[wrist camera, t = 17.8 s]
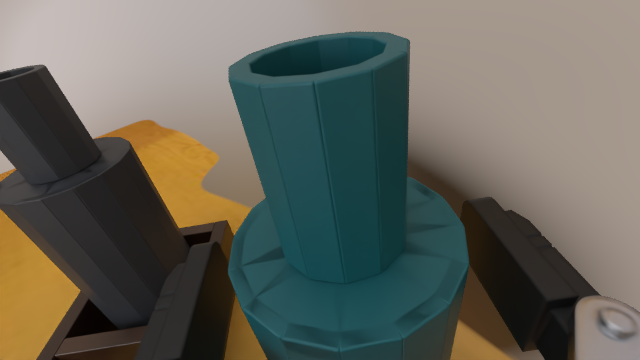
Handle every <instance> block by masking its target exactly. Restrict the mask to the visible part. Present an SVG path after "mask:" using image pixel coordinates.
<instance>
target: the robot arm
mask: <svg viewBox="0 0 640 360" xmlns="http://www.w3.org/2000/svg"><path fill="white" fill-rule="evenodd" d="M460 221H461V222H462V223H463V225H464V227H465V233H466V241H467V248H468V256H469V265H470V266H471V268H472V269H473V271H474V273H475V274H476V276H477V278H478V279H479V281H480V283H481V284H482V286H483V287H484V289H485V290H486V292H487V294H488V296H489V297H490V299H491V301H492V302H493V304H494V305H495V307H496V309H497V310H498V312H499V314H500V315H501V317H502V319H503V320H504V322H505V324H506V325H507V327H508V329H509V330H510V332H511V333H512V335H513V337H514V338H515V340H516V342H517V343H518V345H519V347H520V348H521V350H522V351H523V352H524V351H531V350H537V349H538V350H539V351H540V353H541V354H542V356H543V357H544V359H545V360H640V312H639V311H637V310H636V309H634V308H633V307H631V306H629V305H627V304H625V303H623V302H621V301H619V300H616V299H613V298H609V297H605V296H601V295H600V294H599V293H598V292H597V291H595V289H594V288H593V287H592V286H591V285H590V284H589V283H588V282H587V281H586V280H585V279H584V278H583V277H582V276H581V275H580V274H579V273H578V272H577V270H576V269H574V267H573V266H572V265H571V264H570V263H569V262H568V261H567V260H566V259H565V258H564V257H563V256H562V255H561V254H560V253H559V252H558V251H557V249H555V247H552V244H551V243H550V242H549V241H548V240H547V239H546V238H545V237H544V236H542V235H541V233H540V232H539V231H538V230H537V228H536V227H535V226H534V225H533V224H532V223H531V222H530V221H529V220H527V219H525V218H524V217H522V216H520V215H519V214H517V213H515V212H514V211H512V210H508V211H504V210H503V209H502V208H501V206H500V205H499V204H498V203H497V202H496V201H495V200H494V199H493V198H491V197H485V198H479V199H473V200H467V201H464V203H463V206H462V213H461V218H460ZM228 267H229V262H228V260H227V258H226V256H225V254H224V252H223V250H222V248H221V246H220V244H219V243H218V242H217V241H214V242H208V243H202V244H196V245H193V246H192V247H191V248H190V250H189V253H188V256H187V259H186V262H185V263H181V264H177V266H176V267H175V268H174V269H173V271H172V272H171V273H170V274H169V276H168V277H167V278H166V280H165V282H164V285H163V287H162V290H161V292H160V298H158V300H157V302H156V305H155V307H154V308H155V311H153V312H152V315H151V317H150V320H149V322H148V325H147V327H146V330H145V332H144V335H143V337H142V340H141V342H140V345H139V347H138V350H137V353H136V355H135V358H134V360H222V358H223V352H224V346H225V341H226V335H227V329H228V323H229V317H230V312H231V306H232V300H233V294H234V288H233V285H232V282H231V280H230V277H229V275H228Z"/></svg>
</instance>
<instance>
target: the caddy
mask: <svg viewBox="0 0 640 360" xmlns="http://www.w3.org/2000/svg"><path fill="white" fill-rule="evenodd" d="M179 230H180V231H181V233H182V235H183V237H184V238H185V240H186V242H187V244H188V245H189V247H190V248H191V247H192V246H193V245H196V244H202V243H208V242H214V241H217V242H218V243H219V244H220V246H221V248H222V250H223V252H224V254H225V256H226V258H227V260H228V262H229V261H230V255H231V248H232V242H233V238H234V235H233V233H232V230H231V228H230V226H229V223H228V221H227V220H225V221H219V222H215V223H209V224H203V225H197V226H190V227H184V228H179ZM234 296H235V290H234V294H233V300H232V306H231V312H230V317H229V323H228V329H227V335H226V341H225V346H224V352H223V358H222V360H224V354H225V348H226V343H227V337H228V331H229V325H230V319H231V313H232V307H233V302H234ZM146 327H147V326H141V327H134V328H128V329H122V330H119V329H118V328H117V327H116V326H115V325H114V324H113V323H112V322H111V321H110V320H109V319H108V318H107V317H106V316H105V315H104V314H103V313H102V312H101V310H100V309H99V308H98V307H97V306H96V305H95V304H94V303H93V302H92V301H91V300H90V299H89V298H88V297H87V296H86V295H85V294H84V293H83V292H82V291H81V292H80V293H79V295H78V296H77V298H76V299H75V301H74V302H73V304H72V305H71V307H70V308H69V310H68V312H67V313H66V315H65V316H64V318H63V319H62V321H61V322H60V324H59V325H58V327H57V328H56V330H55V332H54V333H53V335H52V336H51V338H50V339H49V341H48V342H47V344H46V345H45V347H44V348H43V350H42V352H41V353H40V355H39V356H38V358H37V359H36V360H134V358H135V355H136V353H137V350H138V347H139V345H140V342H141V340H142V337H143V335H144V332H145V330H146Z"/></svg>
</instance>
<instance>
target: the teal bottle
mask: <svg viewBox="0 0 640 360" xmlns="http://www.w3.org/2000/svg"><path fill="white" fill-rule="evenodd" d="M409 64H410V41H409V40H408V39H406V38H403V37H400V36H397V35H394V34H391V33H386V32H346V33H337V34H328V35H319V36H313V37H308V38H304V39H299V40H294V41H289V42H285V43H282V44H277V45H274V46H271V47H269V48H265V49H263V50H260V51H257V52H254V53H251V54H249V55H247V56H246V57H244V58H242V59H241V60H239V61H238V62H236V63H234V64H233V65H231V66H230V67H229V83H230V86H231V89H232V92H233V96H234V99H235V102H236V105H237V108H238V111H239V114H240V118H241V121H242V124H243V127H244V130H245V133H246V136H247V140H248V143H249V146H250V149H251V152H252V155H253V159H254V161H255V165H256V168H257V171H258V174H259V177H260V181H261V184H262V187H263V190H264V193H265V196H266V198H265V199H264V200H263V201H261V202H260V203H259V204H258V205H256V206H255V207H254V208H253V209H252V210H251V211H250V213H249V214H248V216H247V217H246V219H245V220H244V222H243V223H242V225H241V226H240V228H239V229H238V231H237V232H236V234H235V235H234V238H233V242H232V248H231V255H230V261H229V267H228V275H229V277H230V280H231V282H232V285H233V288H234V290H235V293H236V295H237V298H238V301H239V303H240V306H241V308H242V310H243V312H244V314H245V316H246V318H247V320H248V322H249V324H250V326H251V328H252V330H253V332H254V334H255V336H256V338H257V340H258V341H259V343H260V345H261V347H262V349H263V351H264V353H265V355H266V357H267V359H268V360H450V356H451V352H452V347H453V342H454V337H455V332H456V327H457V322H458V317H459V313H460V307H461V303H462V298H463V293H464V288H465V283H466V278H467V273H468V269H469V256H468V248H467V241H466V233H465V227H464V225H463V223H462V222H461V221H460V219H459V218H458V217H457V215H456V214H455V213H454V211H453V210H452V209H451V207H450V206H449V204H448V203H447V202H446V201H445V199H444V198H443V197H442V196H441V195H439V194H437V193H436V192H434V191H433V190H431V189H429V188H427V187H426V186H424V185H423V184H421V183H419V182H418V181H416V180H415V179H412V178H410V177H407V158H408V157H407V155H408V110H409Z"/></svg>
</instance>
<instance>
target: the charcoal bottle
mask: <svg viewBox="0 0 640 360" xmlns="http://www.w3.org/2000/svg"><path fill="white" fill-rule="evenodd" d="M0 150H1V151H2V153H3V154H4V155H5V156H6V157H7V158H8V160H9V161H10V162H11V163H12V164H13V165H14V167H15V168H16V169H17V170H16V171H14V172H13V173H12V174H10V175H9V176H8V177H6V178H5V179H4V180H2V181H1V182H0V209H1V210H2V211H3V212H4V213H5V214H6V215H7V216H8V217H9V218H10V219H11V220H12V221H13V222H14V223H15V224H16V225H17V226H18V227H19V228H20V229H21V230H22V231H23V232H24V233H25V234H26V235H27V236H28V237H29V238H30V239H31V240H32V241H33V242H34V243H35V244H36V245H37V246H38V247H39V248H40V249H41V250H42V251H43V252H44V253H45V254H46V255H47V256H48V258H49V259H50V260H51V261H52V262H53V263H54V264H55V265H56V266H57V267H58V268H59V269H60V270H61V271H62V272H63V273H64V274H65V275H66V276H67V277H68V278H69V279H70V280H71V281H72V282H73V283H74V284H75V285H76V286H77V287H78V288H79V289H80V290H81V291H82V292H83V293H84V294H85V295H86V296H87V297H88V298H89V299H90V300H91V301H92V302H93V303H94V304H95V305H96V306H97V307H98V308H99V309H100V310H101V312H102V313H103V314H104V315H105V316H106V317H107V318H108V319H109V320H110V321H111V322H112V323H113V324H114V325H115V326H116V327H117V328H118V329H119V330H122V329H128V328H134V327H141V326H147V325H148V322H149V320H150V317H151V315H152V312H153V311H155V308H154V307H155V305H156V302H157V300H158V298H160V292H161V290H162V287H163V285H164V282H165V280H166V278H167V277H168V276H169V274H170V273H171V272H172V271H173V269H174V268H175V267H176V266H177V264H181V263H185V262H186V259H187V256H188V253H189V250H190V247H189V245H188V244H187V242H186V240H185V238H184V237H183V235H182V233H181V231H180V230H179V228H178V226H177V224H176V223H175V221H174V219H173V217H172V216H171V214H170V212H169V210H168V209H167V207H166V205H165V203H164V202H163V200H162V198H161V196H160V194H159V193H158V191H157V189H156V187H155V186H154V184H153V182H152V180H151V179H150V177H149V175H148V173H147V172H146V170H145V168H144V166H143V165H142V163H141V161H140V159H139V158H138V156H137V154H136V152H135V151H134V149H133V147H132V145H131V144H130V142H129V141H128V140H125V139H123V138H121V137H105V138H98V139H92V137H91V136H90V134H89V133H88V131H87V130H86V128H85V127H84V125H83V124H82V122H81V120H80V119H79V117H78V116H77V114H76V113H75V111H74V109H73V108H72V106H71V105H70V103H69V102H68V100H67V99H66V97H65V96H64V94H63V92H62V91H61V89H60V88H59V86H58V85H57V83H56V82H55V80H54V78H53V77H52V75H51V74H50V72H49V71H48V69H47V68H46V66H44V65H34V66H27V67H22V68H17V69H12V70H7V71H3V72H0Z"/></svg>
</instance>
